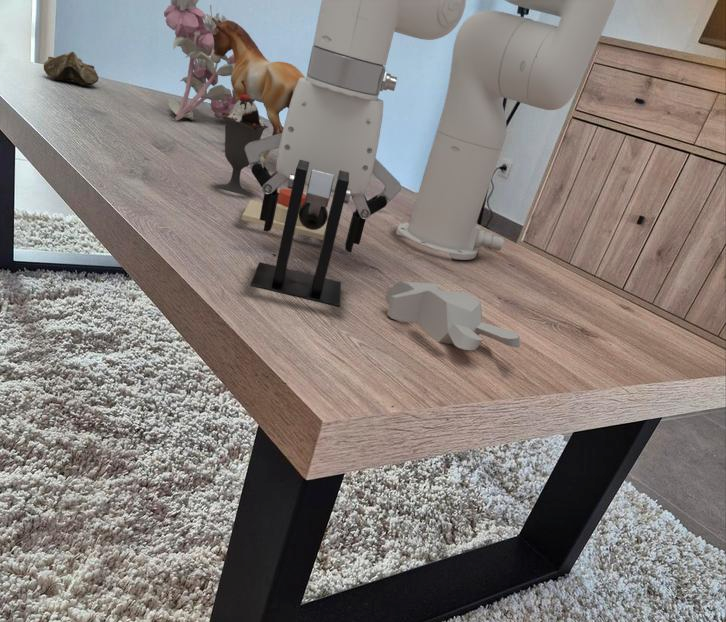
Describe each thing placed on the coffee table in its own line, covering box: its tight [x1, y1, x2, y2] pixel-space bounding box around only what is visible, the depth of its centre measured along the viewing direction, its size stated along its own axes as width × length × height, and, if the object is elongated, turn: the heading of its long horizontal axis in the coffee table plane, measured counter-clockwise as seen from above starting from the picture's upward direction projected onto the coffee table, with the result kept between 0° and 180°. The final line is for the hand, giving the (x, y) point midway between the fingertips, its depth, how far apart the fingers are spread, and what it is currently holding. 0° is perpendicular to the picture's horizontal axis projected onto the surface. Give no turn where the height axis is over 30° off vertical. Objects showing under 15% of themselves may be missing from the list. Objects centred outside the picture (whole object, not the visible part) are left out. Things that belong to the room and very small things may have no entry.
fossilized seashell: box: [43, 50, 100, 87], centre depth 141 cm, size 8×7×10 cm
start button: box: [277, 188, 306, 207], centre depth 88 cm, size 4×4×2 cm
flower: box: [163, 0, 236, 122], centre depth 139 cm, size 20×22×25 cm
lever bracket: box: [250, 160, 351, 308], centre depth 68 cm, size 7×9×13 cm
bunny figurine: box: [384, 281, 521, 351], centre depth 68 cm, size 10×5×15 cm
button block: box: [241, 199, 328, 241], centre depth 89 cm, size 11×8×4 cm
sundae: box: [215, 80, 270, 197], centre depth 96 cm, size 7×7×15 cm
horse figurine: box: [210, 17, 306, 166], centre depth 116 cm, size 31×8×21 cm, turn 39°
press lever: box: [299, 170, 334, 230], centre depth 70 cm, size 12×3×3 cm
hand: (308, 238), depth 76 cm, fingers open, 8 cm apart
